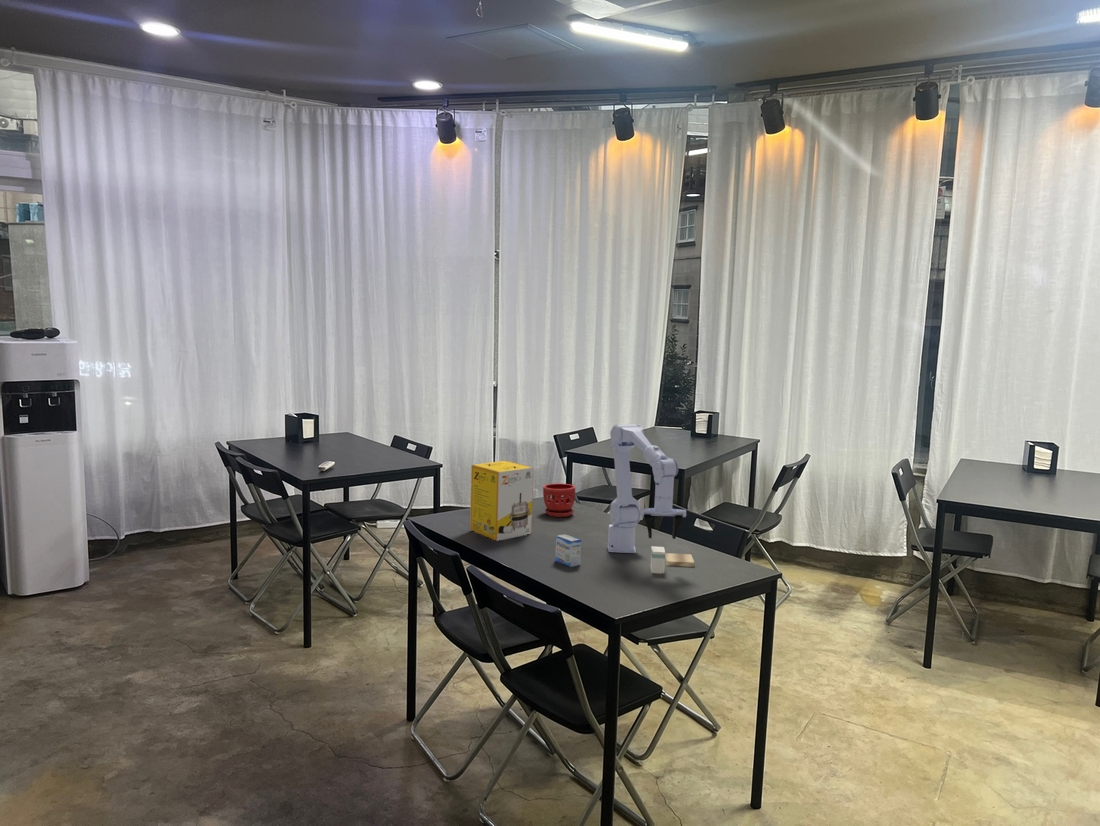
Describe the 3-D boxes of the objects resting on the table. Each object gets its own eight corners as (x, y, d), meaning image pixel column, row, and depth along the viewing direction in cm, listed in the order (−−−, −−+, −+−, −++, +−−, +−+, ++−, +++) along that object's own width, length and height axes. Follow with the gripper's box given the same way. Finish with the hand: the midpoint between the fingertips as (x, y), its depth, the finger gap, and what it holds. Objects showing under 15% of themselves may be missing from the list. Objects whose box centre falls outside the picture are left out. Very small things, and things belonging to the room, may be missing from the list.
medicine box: (554, 561, 262) (555, 535, 261) (564, 559, 265) (565, 533, 264) (570, 567, 256) (571, 541, 255) (580, 565, 259) (581, 539, 258)
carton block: (651, 573, 253) (652, 551, 252) (650, 567, 259) (651, 546, 258) (664, 573, 253) (665, 552, 252) (662, 567, 259) (663, 546, 258)
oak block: (666, 567, 261) (666, 561, 261) (664, 558, 270) (664, 553, 270) (694, 568, 261) (694, 562, 261) (690, 560, 270) (691, 554, 269)
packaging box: (504, 524, 306) (506, 460, 303) (531, 534, 294) (533, 467, 291) (469, 531, 295) (471, 464, 292) (496, 541, 283) (498, 472, 280)
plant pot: (575, 511, 330) (577, 483, 328) (572, 519, 317) (573, 490, 315) (544, 509, 331) (545, 481, 330) (540, 517, 319) (541, 488, 317)
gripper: (642, 498, 250) (640, 540, 252) (688, 499, 250) (686, 541, 252) (640, 493, 257) (638, 534, 259) (684, 494, 257) (682, 535, 259)
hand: (661, 537), depth 256 cm, fingers open, 7 cm apart
